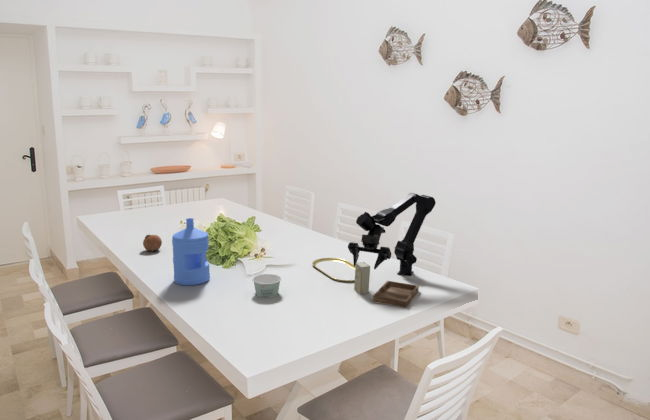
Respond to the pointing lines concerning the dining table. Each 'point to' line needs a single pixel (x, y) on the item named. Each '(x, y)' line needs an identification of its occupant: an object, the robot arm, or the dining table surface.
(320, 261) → the gold hoop ring
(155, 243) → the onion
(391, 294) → the walnut tray
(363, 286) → the skincare box
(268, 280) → the food container
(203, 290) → the dining table surface
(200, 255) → the water jug
